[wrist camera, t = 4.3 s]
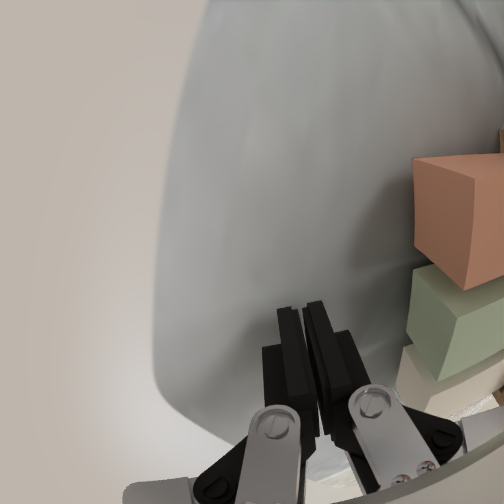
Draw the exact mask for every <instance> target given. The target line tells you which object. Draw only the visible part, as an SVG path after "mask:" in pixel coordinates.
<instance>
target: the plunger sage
mask: <svg viewBox="0 0 504 504" xmlns="http://www.w3.org/2000/svg"><path fill="white" fill-rule="evenodd" d="M406 332H407V334H408V335H409V337H410V338H411V340H412V342H413V343H414V345H415V346H416V348H417V350H418V351H419V353H420V355H421V356H422V358H423V360H424V361H425V363H426V365H427V366H428V368H429V370H430V372H431V373H432V375H433V377H434V378H435V380H436V382H439V381H441V380H443V379H446V378H448V377H450V376H452V375H454V374H456V373H459V372H461V371H463V370H465V369H467V368H469V367H471V366H473V365H475V364H477V363H478V362H480V361H482V360H484V359H486V358H488V357H489V356H491V355H493V354H495V353H497V352H498V351H500V350H502V349H503V348H504V275H502V276H500V277H498V278H495V279H493V280H490V281H488V282H485V283H483V284H480V285H478V286H475V287H473V288H470V289H468V290H465V291H463V290H462V289H461V288H460V287H459V286H458V285H457V284H456V283H455V282H454V281H453V280H452V279H451V278H450V277H449V276H447V275H446V274H445V273H444V272H443V271H442V270H441V269H440V268H439V267H438V266H437V265H435V264H432V265H428V266H424V267H421V268H417V269H413V277H412V288H411V298H410V307H409V314H408V322H407V328H406Z"/></svg>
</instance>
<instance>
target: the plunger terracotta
mask: <svg viewBox="0 0 504 504" xmlns="http://www.w3.org/2000/svg"><path fill="white" fill-rule="evenodd" d="M412 164H413V178H414V201H415V240H414V246H415V247H416V248H417V249H418V250H420V251H421V252H422V253H423V254H424V255H425V256H426V257H428V258H429V259H430V260H431V261H432V262H433V263H434V264H435V265H437V266H438V267H439V268H440V269H441V270H442V271H443V272H444V273H445V274H446V275H447V276H449V277H450V278H451V279H452V280H453V281H454V282H455V283H456V284H457V285H458V286H459V287H460V288H461V289H462V290H463V291H465V290H468V289H470V288H473V287H475V286H478V285H480V284H483V283H485V282H488V281H490V280H493V279H495V278H498V277H500V276H502V275H504V153H490V154H467V155H451V156H437V157H426V158H415V159H412Z"/></svg>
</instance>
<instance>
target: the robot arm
mask: <svg viewBox="0 0 504 504" xmlns="http://www.w3.org/2000/svg"><path fill="white" fill-rule="evenodd" d="M302 313H303V320H304V327H305V334H306V342H307V347H306V342H305V338H304V334H303V330H302V325H301V321H300V317H299V313H298V309H295V310H292V308H291V306H290V307H285V308H279V309H277V315H278V323H279V330H280V337H281V344H277V345H271V346H265V347H262V360H263V380H264V400H265V408H263V409H261V410H260V411H258V412H257V413H256V414H255V415H254V417H253V418H252V420H251V423H250V427H249V433H248V435H247V436H246V437H245V438H244V439H243V440H242V441H241V442H239V443H238V444H237V445H236V446H235V447H234V448H233V449H232V450H230V451H229V452H228V453H227V454H226V455H224V456H223V457H222V458H221V459H219V460H218V461H217V462H216V463H214V464H213V465H212V466H211V467H209V468H208V469H207V470H206V471H204V472H203V473H202V474H200V476H199V477H195V478H188V477H183V478H175V479H167V480H158V481H148V482H136V483H132V484H130V485H129V486H128V487H126V489H125V490H124V492H123V498H122V499H123V504H305V493H306V478H307V459H308V458H309V457H310V456H311V455H312V454H313V453H314V452H315V450H316V443H315V437H319V436H320V429H319V416H318V405H319V410H320V415H321V420H322V425H323V430H324V434H325V435H329V434H330V435H331V440H332V441H334V443H335V446H337V447H339V448H341V449H343V450H345V454H346V456H347V459H348V461H349V463H350V466H351V468H352V470H353V473H354V475H355V477H356V480H357V482H358V484H359V487H360V488H361V491H362V493H363V496H361V497H358V498H353V499H349V500H345V501H341V502H337V503H332V504H504V405H502V406H499V407H496V408H493V409H491V410H487V411H484V412H481V413H478V414H474V415H471V416H467V417H463V418H461V419H460V421H456V422H453V421H451V420H447V419H444V418H441V417H437V416H434V415H431V414H428V413H425V412H422V411H419V410H416V409H413V408H410V407H407V406H404V405H401V403H400V402H399V400H398V399H397V397H396V396H395V394H394V393H393V392H392V391H391V390H390V389H389V388H387V387H385V386H383V385H379V384H371V382H370V380H369V377H368V375H367V372H366V370H365V367H364V365H363V362H362V360H361V357H360V355H359V352H358V350H357V348H356V345H355V343H354V341H353V338H352V336H351V334H350V332H349V330H344V331H340V332H335V333H334V332H333V329H332V327H331V324H330V321H329V318H328V316H327V313H326V310H325V308H324V305H323V302H322V300H319V301H314V302H310V303H307V307H305V308H302ZM307 350H308V351H307ZM317 401H318V404H317Z"/></svg>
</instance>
